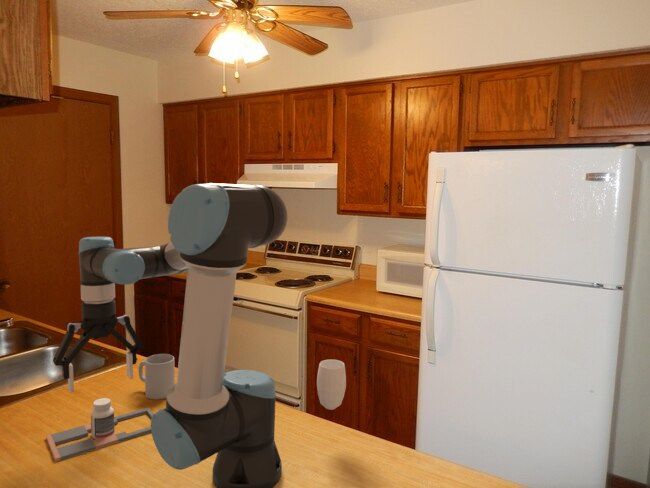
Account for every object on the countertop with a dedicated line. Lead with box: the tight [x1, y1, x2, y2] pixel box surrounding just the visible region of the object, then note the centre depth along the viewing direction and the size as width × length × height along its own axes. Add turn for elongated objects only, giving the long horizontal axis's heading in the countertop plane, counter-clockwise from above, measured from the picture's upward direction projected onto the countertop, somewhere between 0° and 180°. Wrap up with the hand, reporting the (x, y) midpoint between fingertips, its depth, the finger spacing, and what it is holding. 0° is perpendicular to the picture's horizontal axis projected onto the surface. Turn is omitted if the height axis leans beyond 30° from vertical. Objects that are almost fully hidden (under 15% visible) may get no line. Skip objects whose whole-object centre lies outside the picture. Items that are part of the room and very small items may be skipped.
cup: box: [316, 359, 347, 411], centre depth 115 cm, size 7×7×21 cm
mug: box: [138, 353, 176, 400], centre depth 141 cm, size 12×8×11 cm
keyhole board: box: [45, 407, 155, 463], centre depth 118 cm, size 12×25×1 cm, turn 129°
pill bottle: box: [90, 397, 116, 440], centre depth 117 cm, size 5×5×9 cm
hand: (101, 383), depth 115 cm, fingers open, 13 cm apart
